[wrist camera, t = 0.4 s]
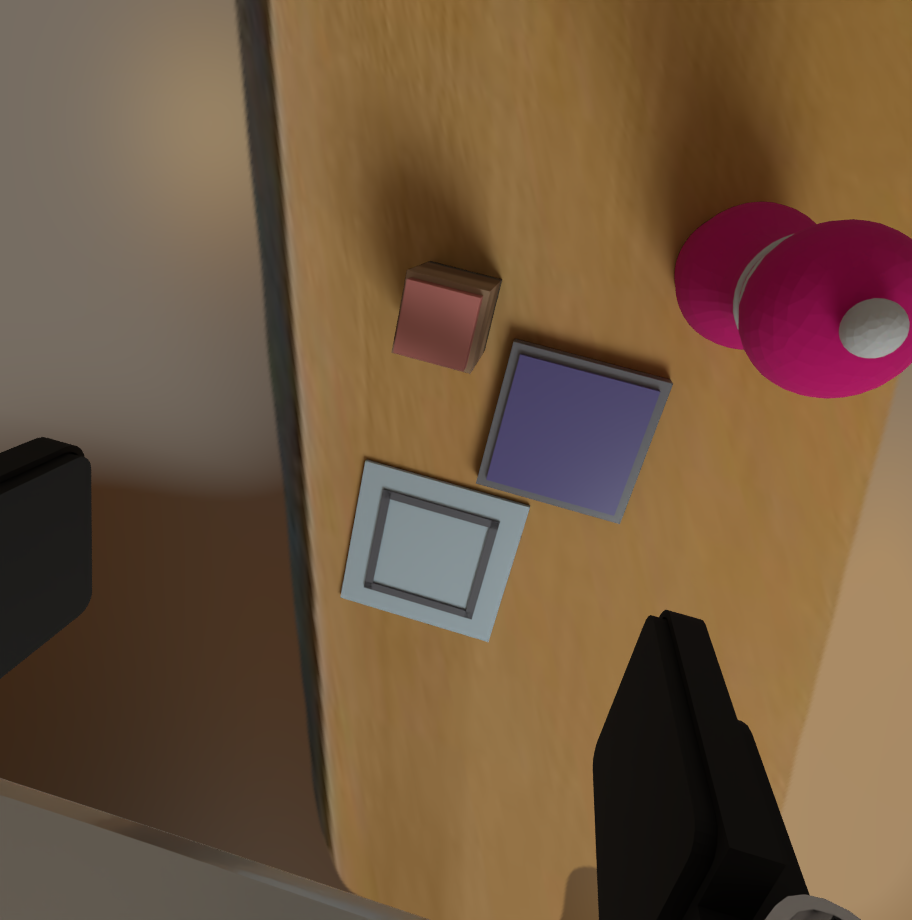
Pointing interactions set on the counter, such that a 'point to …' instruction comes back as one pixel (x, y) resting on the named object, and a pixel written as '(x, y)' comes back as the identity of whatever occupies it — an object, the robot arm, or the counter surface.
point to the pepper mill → (801, 296)
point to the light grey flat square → (431, 549)
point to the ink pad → (571, 430)
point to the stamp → (445, 315)
